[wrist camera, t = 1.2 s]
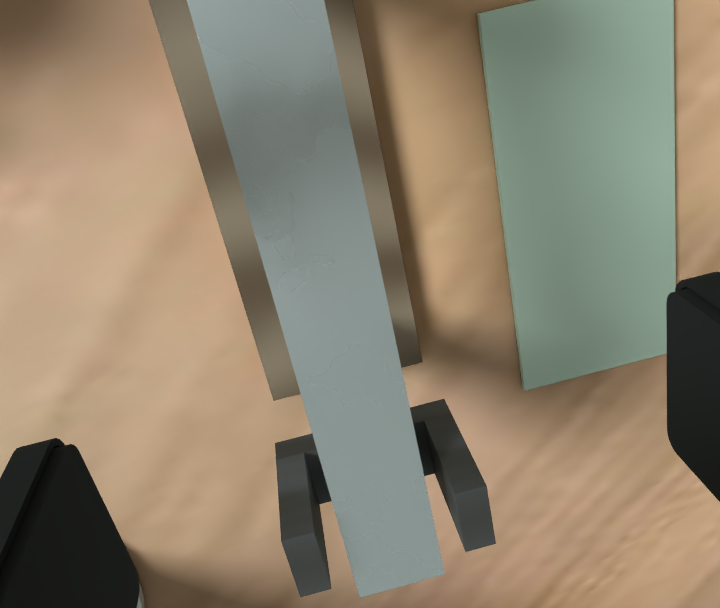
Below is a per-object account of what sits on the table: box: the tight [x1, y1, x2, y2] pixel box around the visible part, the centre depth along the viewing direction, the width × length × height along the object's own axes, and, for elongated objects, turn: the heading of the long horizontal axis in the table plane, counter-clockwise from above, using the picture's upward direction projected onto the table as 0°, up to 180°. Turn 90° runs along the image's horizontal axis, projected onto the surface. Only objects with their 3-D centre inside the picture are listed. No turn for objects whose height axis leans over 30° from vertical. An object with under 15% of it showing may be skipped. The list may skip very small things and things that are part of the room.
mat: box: [477, 0, 676, 391], centre depth 35 cm, size 20×9×1 cm, turn 12°
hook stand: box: [149, 0, 496, 597], centre depth 25 cm, size 24×8×16 cm, turn 12°
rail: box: [187, 0, 445, 598], centre depth 20 cm, size 24×3×3 cm, turn 12°
